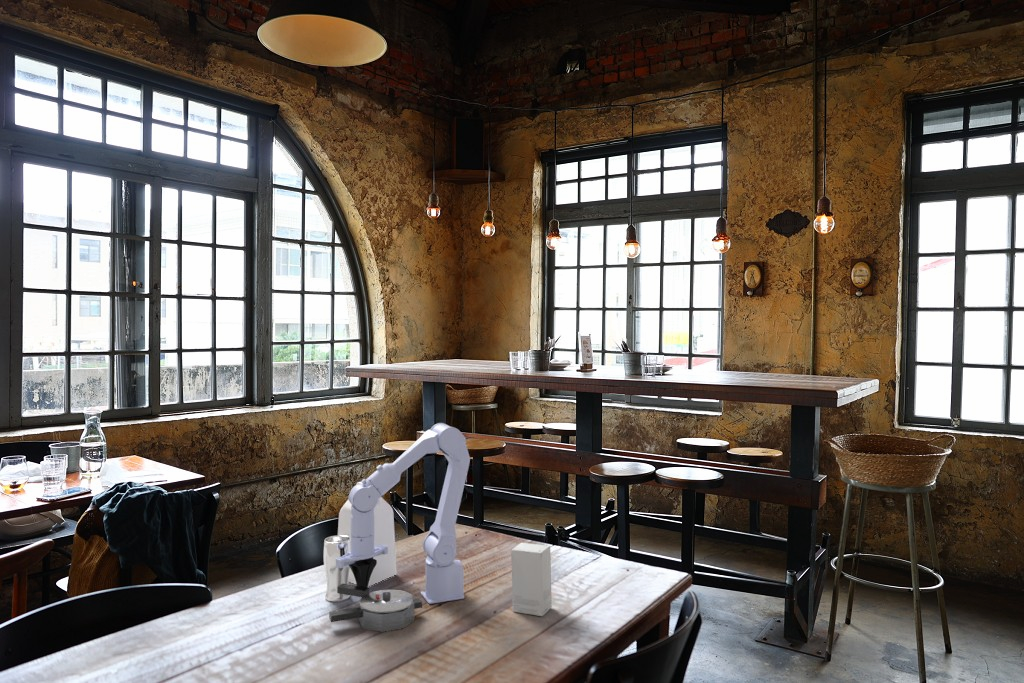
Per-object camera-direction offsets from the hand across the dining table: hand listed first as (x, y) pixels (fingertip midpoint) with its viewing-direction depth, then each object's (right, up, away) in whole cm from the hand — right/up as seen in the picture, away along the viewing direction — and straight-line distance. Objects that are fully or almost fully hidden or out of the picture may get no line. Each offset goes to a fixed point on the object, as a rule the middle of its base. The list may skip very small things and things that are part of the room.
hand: (362, 589), depth 174 cm
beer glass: (-8, -5, +7) cm, 12 cm away
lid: (+4, -1, -6) cm, 7 cm away
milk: (-4, -5, +22) cm, 23 cm away
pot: (+5, -5, -8) cm, 10 cm away
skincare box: (+41, -5, 0) cm, 42 cm away
